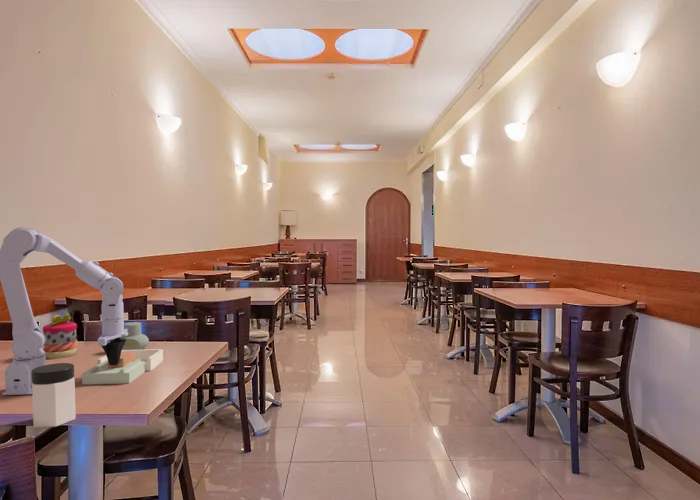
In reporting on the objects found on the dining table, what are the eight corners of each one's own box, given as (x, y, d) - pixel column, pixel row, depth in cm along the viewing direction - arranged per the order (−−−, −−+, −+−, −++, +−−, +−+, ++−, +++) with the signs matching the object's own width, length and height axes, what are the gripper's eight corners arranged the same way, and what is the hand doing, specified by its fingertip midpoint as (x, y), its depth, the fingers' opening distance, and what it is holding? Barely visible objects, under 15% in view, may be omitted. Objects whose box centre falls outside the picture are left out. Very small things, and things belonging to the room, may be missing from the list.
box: (150, 371, 143) (150, 358, 143) (97, 372, 142) (97, 359, 142) (164, 360, 155) (164, 349, 155) (115, 362, 154) (115, 350, 154)
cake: (35, 358, 160) (34, 315, 160) (61, 351, 170) (60, 310, 170) (60, 359, 158) (59, 316, 157) (84, 352, 168) (83, 311, 168)
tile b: (129, 362, 141) (129, 354, 141) (114, 363, 141) (114, 355, 141) (135, 359, 146) (135, 351, 146) (121, 359, 145) (121, 351, 145)
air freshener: (113, 353, 165) (112, 326, 165) (121, 348, 174) (120, 322, 173) (144, 352, 167) (144, 325, 167) (151, 347, 175) (151, 321, 175)
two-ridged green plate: (129, 383, 131) (129, 369, 131) (82, 384, 130) (81, 370, 130) (145, 371, 143) (145, 358, 142) (102, 372, 142) (102, 359, 142)
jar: (84, 412, 108) (82, 362, 108) (66, 426, 100) (64, 371, 100) (43, 414, 108) (42, 363, 107) (22, 428, 99) (20, 373, 99)
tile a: (123, 367, 137) (123, 358, 136) (107, 367, 136) (107, 358, 136) (130, 363, 141) (129, 354, 141) (114, 363, 141) (114, 355, 141)
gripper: (115, 322, 128) (116, 371, 128) (137, 314, 142) (138, 358, 143) (89, 323, 128) (90, 372, 128) (113, 314, 142) (114, 358, 142)
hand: (113, 364), depth 135 cm, fingers closed
